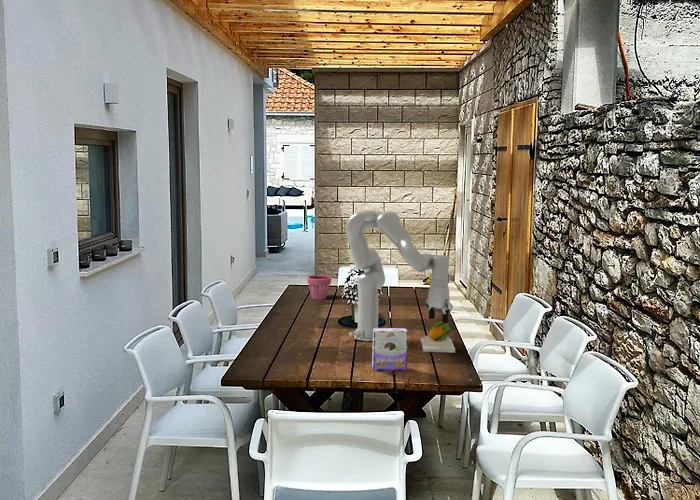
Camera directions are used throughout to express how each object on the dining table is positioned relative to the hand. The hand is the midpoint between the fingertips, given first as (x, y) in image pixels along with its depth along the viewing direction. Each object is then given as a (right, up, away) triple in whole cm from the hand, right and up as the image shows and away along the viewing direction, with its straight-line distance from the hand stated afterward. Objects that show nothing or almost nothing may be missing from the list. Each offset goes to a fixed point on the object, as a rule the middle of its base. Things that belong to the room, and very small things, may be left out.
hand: (438, 320), depth 343 cm
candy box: (-24, -16, -37) cm, 47 cm away
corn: (0, -9, +1) cm, 9 cm away
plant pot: (-59, +3, +114) cm, 128 cm away
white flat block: (0, -12, +1) cm, 12 cm away
